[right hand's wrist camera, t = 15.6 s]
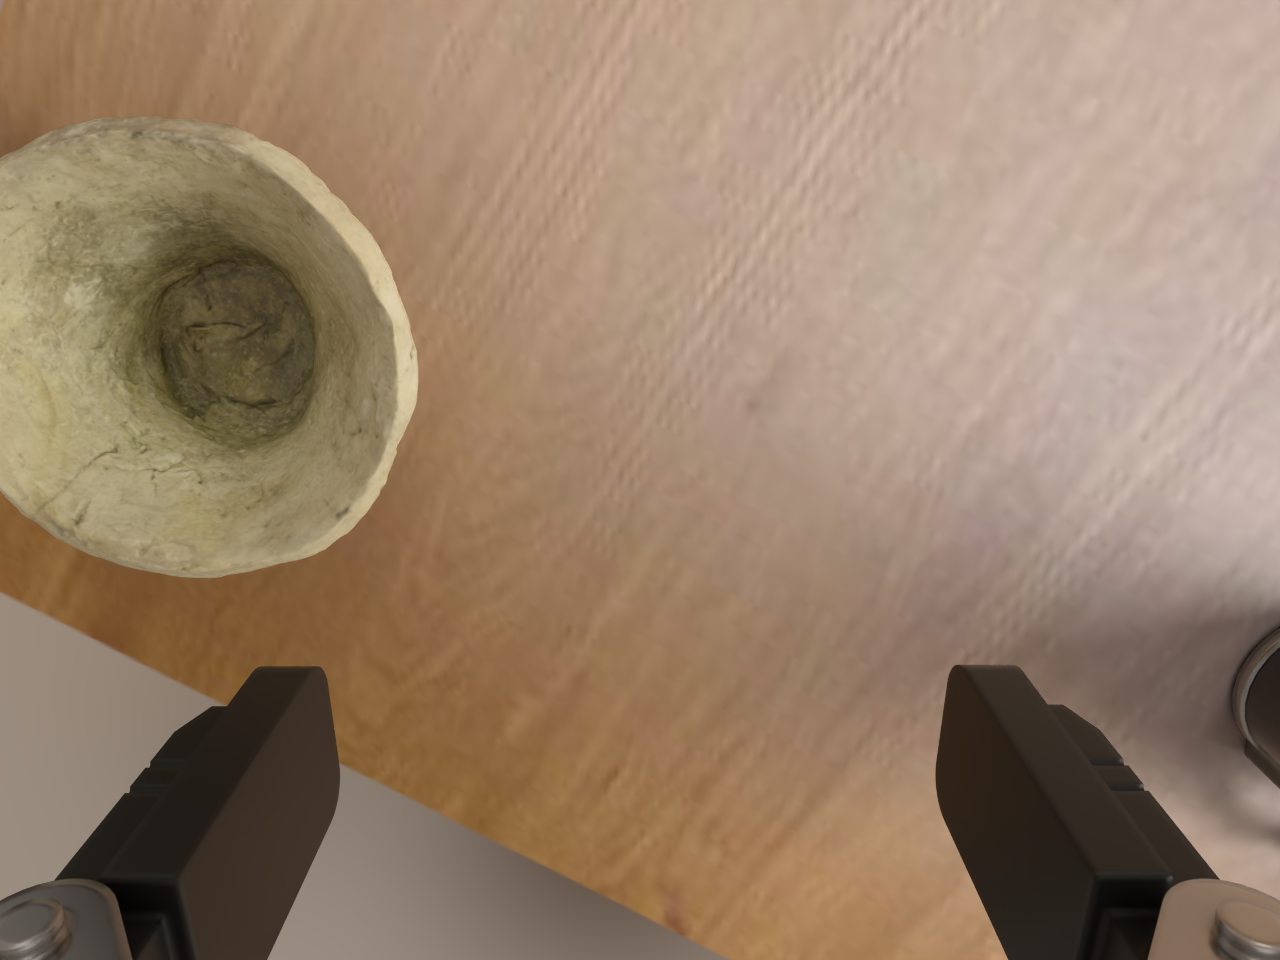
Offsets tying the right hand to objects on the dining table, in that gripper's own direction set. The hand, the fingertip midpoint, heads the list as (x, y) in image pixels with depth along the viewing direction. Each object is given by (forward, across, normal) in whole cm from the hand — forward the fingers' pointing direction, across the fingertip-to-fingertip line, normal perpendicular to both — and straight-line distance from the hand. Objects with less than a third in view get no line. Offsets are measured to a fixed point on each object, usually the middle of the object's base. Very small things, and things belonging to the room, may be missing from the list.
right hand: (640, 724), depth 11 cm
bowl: (+31, -18, 0) cm, 36 cm away
